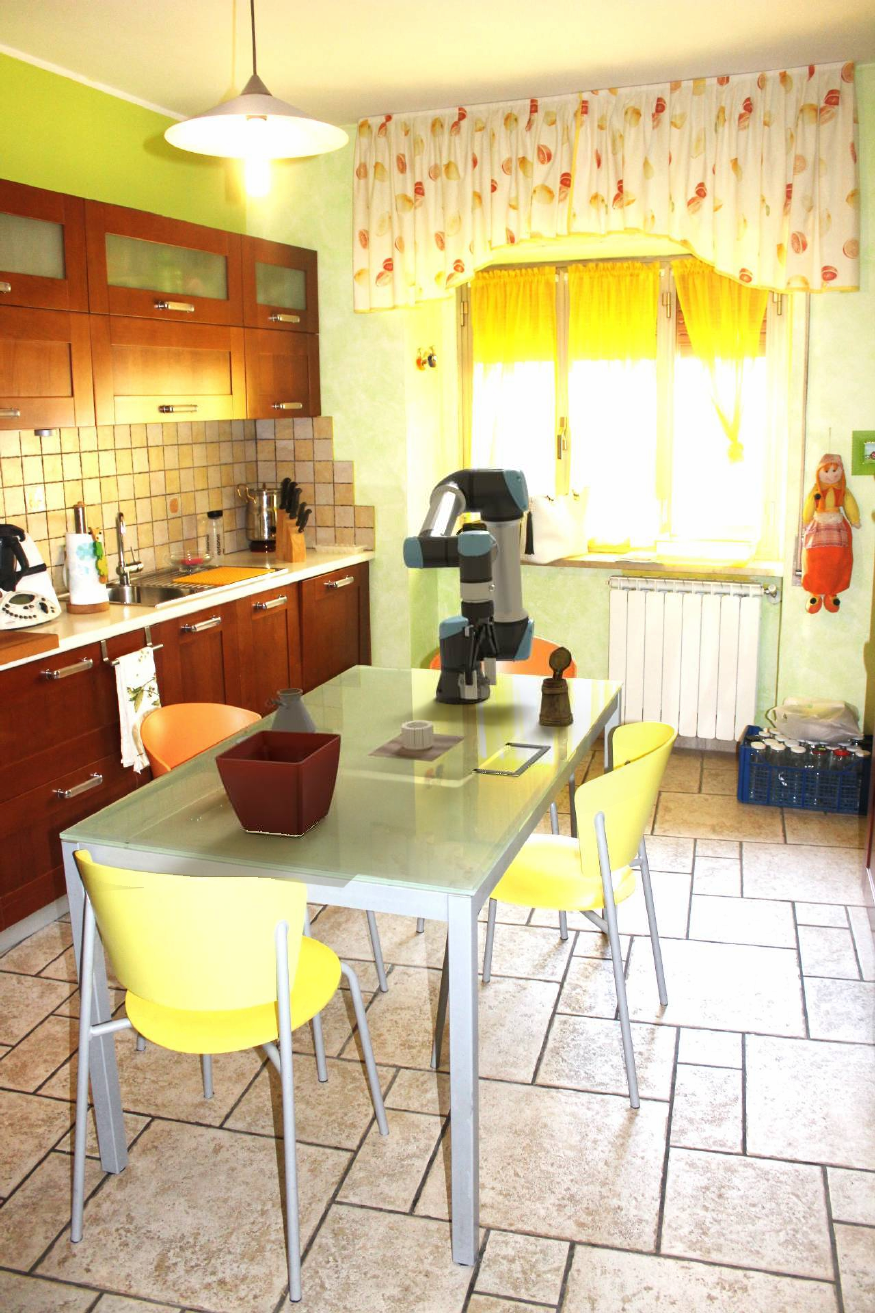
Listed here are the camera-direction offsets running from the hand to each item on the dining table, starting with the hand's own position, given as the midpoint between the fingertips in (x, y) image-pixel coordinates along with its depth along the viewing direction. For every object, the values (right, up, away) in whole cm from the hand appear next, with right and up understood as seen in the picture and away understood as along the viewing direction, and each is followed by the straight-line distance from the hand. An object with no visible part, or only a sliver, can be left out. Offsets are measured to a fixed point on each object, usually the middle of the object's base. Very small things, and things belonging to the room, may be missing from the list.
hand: (481, 691), depth 257 cm
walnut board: (-15, -15, +11) cm, 23 cm away
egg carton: (-2, -1, +1) cm, 2 cm away
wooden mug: (+21, -8, +31) cm, 38 cm away
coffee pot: (-48, -14, +19) cm, 53 cm away
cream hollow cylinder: (-15, -13, +10) cm, 22 cm away
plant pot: (-41, -26, -33) cm, 59 cm away
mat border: (+4, -16, +2) cm, 16 cm away
